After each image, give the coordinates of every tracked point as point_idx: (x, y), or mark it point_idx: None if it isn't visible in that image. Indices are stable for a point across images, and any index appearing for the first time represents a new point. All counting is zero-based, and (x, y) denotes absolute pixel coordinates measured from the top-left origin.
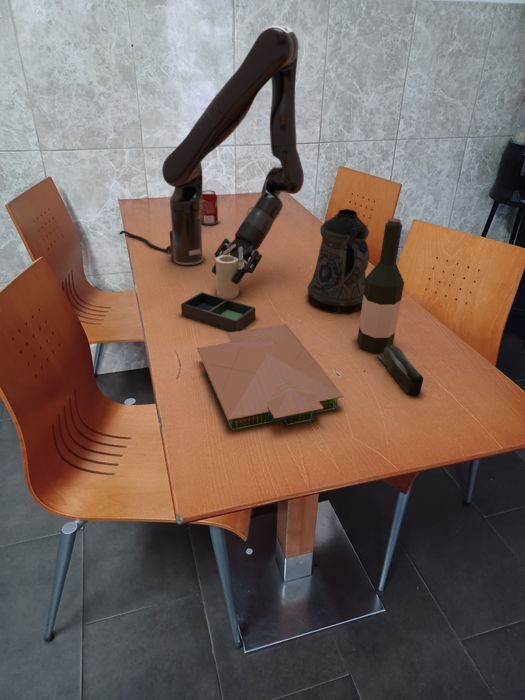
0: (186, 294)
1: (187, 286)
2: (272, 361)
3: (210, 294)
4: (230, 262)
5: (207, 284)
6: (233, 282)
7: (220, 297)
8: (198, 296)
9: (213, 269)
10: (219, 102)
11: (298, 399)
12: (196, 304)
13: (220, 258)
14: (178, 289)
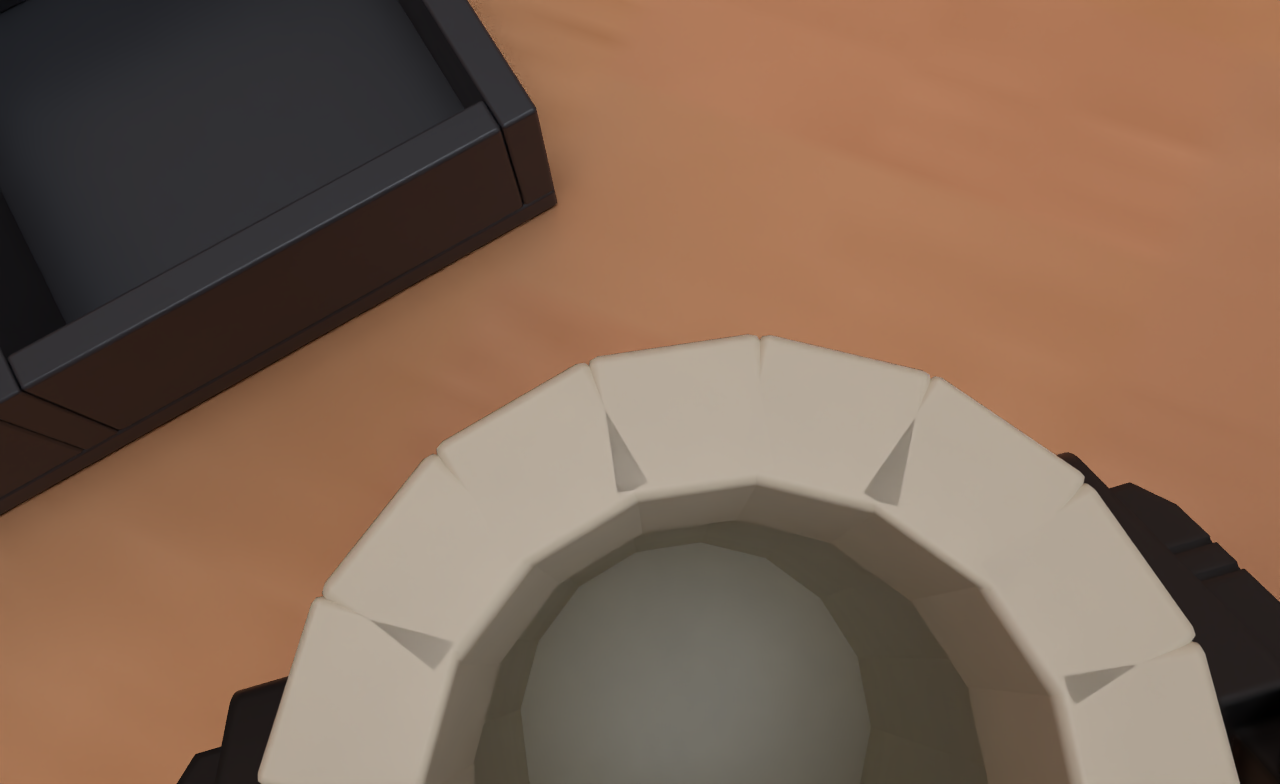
0: (956, 108)
1: (1251, 219)
2: None
3: (357, 205)
4: (311, 767)
5: (1227, 552)
6: None
7: (144, 313)
8: (435, 27)
9: None
10: None
11: None
12: (427, 44)
13: (978, 603)
14: (1181, 63)
